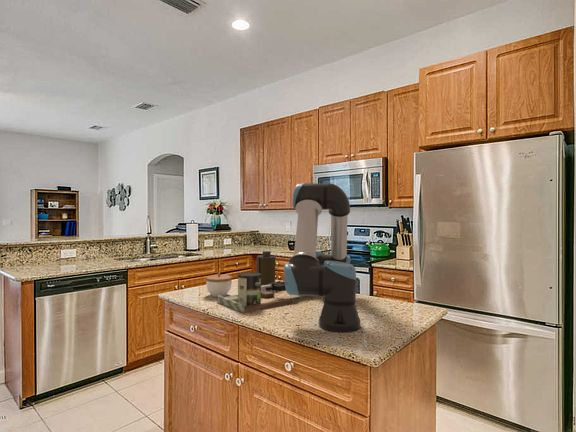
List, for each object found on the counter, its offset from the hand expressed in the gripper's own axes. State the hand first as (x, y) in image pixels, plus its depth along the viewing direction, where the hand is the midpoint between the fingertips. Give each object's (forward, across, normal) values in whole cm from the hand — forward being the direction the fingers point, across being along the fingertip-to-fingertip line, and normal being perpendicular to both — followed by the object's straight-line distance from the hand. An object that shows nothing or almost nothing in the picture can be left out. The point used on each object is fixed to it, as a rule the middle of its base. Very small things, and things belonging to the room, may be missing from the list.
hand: (258, 289), depth 164 cm
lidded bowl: (+7, +26, -7) cm, 27 cm away
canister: (-22, +27, -7) cm, 36 cm away
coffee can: (+5, 0, -7) cm, 8 cm away
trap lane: (0, +2, -6) cm, 7 cm away
